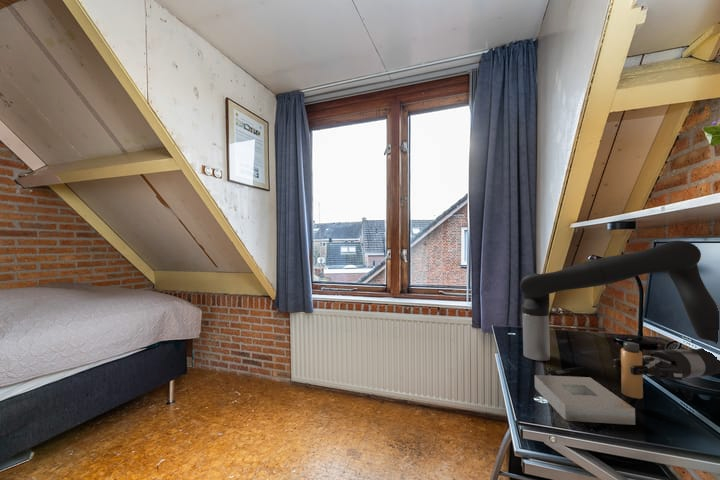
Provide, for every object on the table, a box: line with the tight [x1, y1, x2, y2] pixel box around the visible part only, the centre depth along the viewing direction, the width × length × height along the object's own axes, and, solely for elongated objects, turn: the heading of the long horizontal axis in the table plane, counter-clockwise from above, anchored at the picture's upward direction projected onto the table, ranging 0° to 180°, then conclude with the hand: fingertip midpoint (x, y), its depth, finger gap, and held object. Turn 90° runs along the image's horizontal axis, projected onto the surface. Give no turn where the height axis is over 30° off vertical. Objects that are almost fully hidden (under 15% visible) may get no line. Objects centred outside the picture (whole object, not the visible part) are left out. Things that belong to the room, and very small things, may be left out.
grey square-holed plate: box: [534, 374, 636, 426], centre depth 85 cm, size 18×16×4 cm
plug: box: [620, 341, 644, 399], centre depth 83 cm, size 4×4×14 cm
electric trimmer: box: [545, 366, 586, 377], centre depth 102 cm, size 4×16×3 cm, turn 106°
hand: (623, 366), depth 83 cm, fingers closed on plug, 4 cm apart
